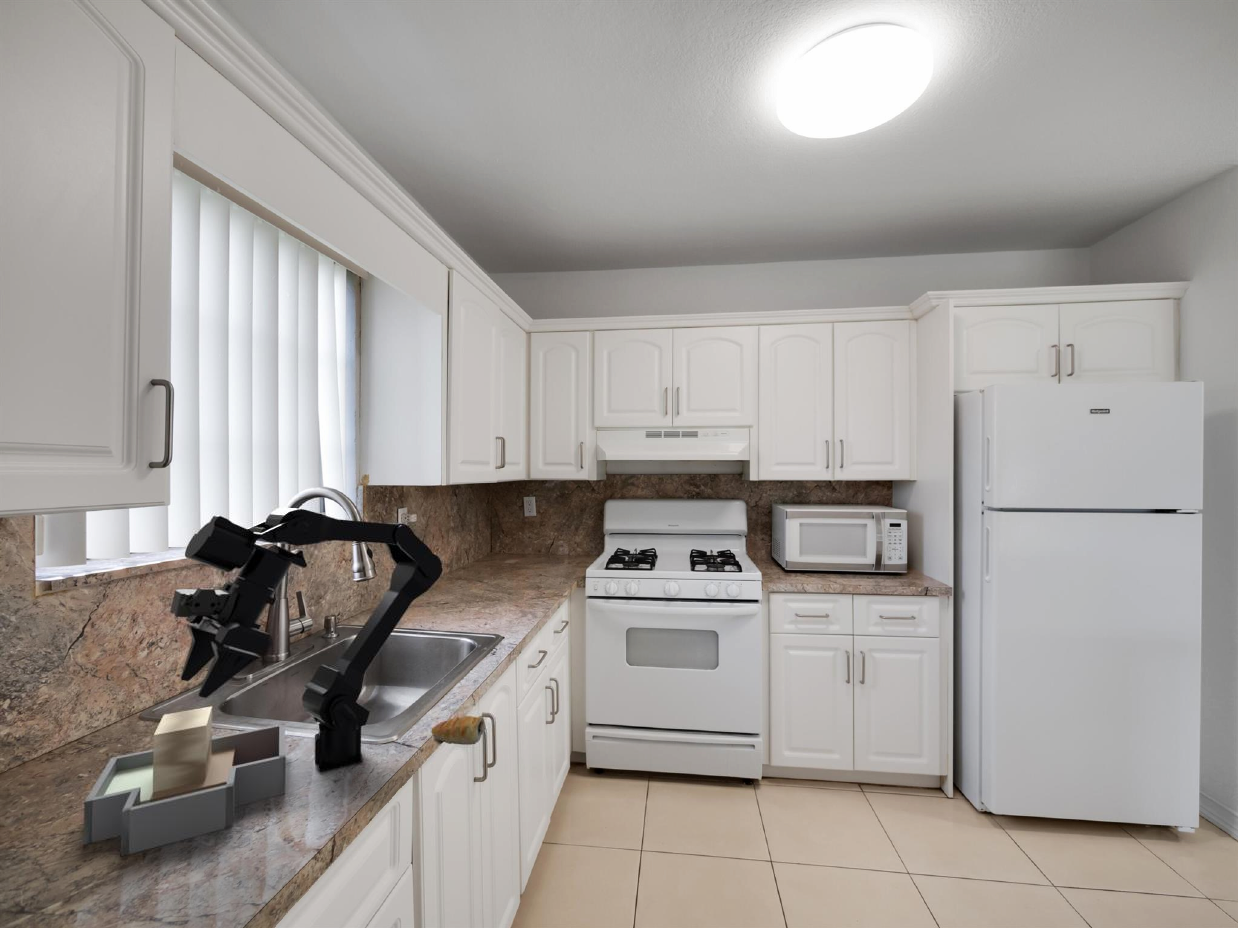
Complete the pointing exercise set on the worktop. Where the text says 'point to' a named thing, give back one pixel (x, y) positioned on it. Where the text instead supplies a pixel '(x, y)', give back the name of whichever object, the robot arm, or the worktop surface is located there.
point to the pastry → (460, 730)
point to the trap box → (184, 792)
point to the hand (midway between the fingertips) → (192, 688)
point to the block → (182, 748)
